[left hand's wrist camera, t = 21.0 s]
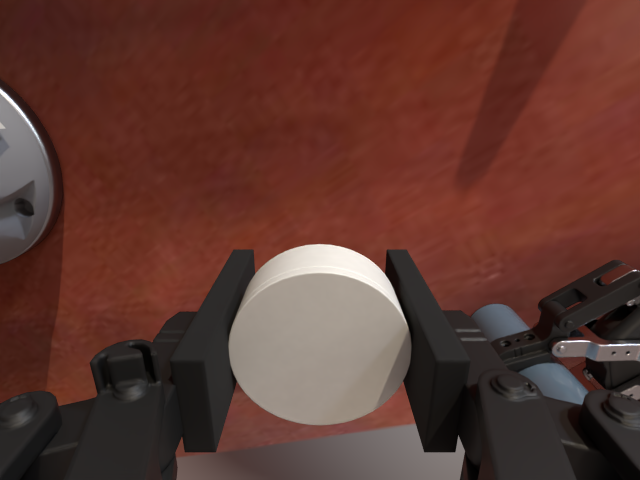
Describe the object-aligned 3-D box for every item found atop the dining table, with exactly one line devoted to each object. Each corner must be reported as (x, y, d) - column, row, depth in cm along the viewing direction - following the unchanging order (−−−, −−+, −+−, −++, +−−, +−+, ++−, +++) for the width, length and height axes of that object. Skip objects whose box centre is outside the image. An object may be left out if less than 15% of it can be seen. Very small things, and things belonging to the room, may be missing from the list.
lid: (430, 303, 12) (450, 339, 10) (333, 402, 14) (336, 451, 12) (303, 211, 11) (299, 233, 9) (212, 329, 13) (193, 370, 11)
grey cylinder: (464, 347, 34) (613, 601, 17) (469, 304, 32) (639, 535, 15) (513, 346, 34) (713, 598, 17) (521, 302, 32) (750, 531, 15)
